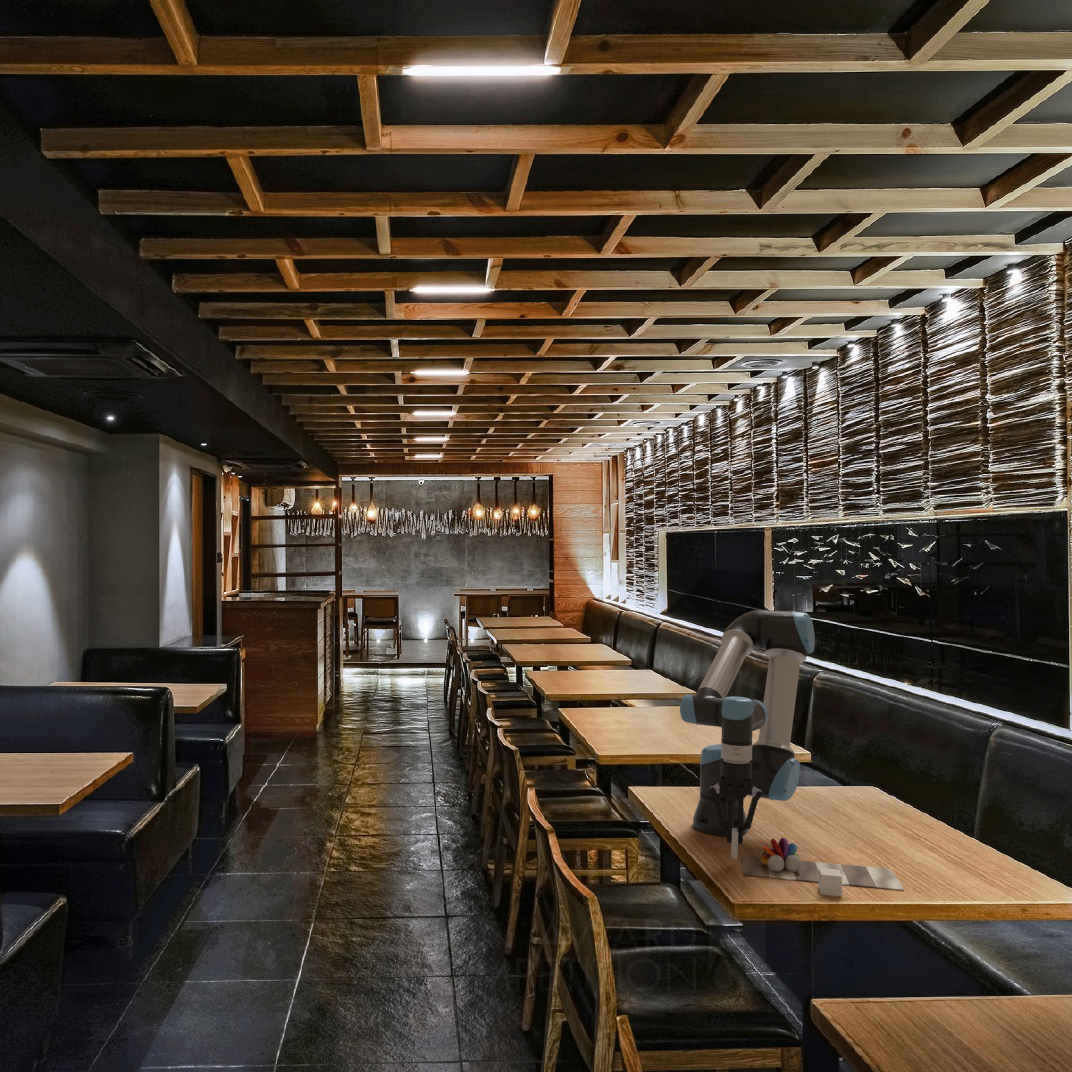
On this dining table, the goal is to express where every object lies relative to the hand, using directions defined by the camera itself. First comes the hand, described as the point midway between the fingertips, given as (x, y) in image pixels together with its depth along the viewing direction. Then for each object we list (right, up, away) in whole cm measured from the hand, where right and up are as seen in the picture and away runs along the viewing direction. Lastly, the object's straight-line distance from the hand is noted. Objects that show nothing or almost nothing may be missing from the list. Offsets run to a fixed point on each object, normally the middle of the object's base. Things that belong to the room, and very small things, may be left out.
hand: (734, 856), depth 211 cm
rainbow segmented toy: (+11, -2, -2) cm, 11 cm away
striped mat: (+20, -3, -4) cm, 20 cm away
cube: (+18, -2, -16) cm, 24 cm away
